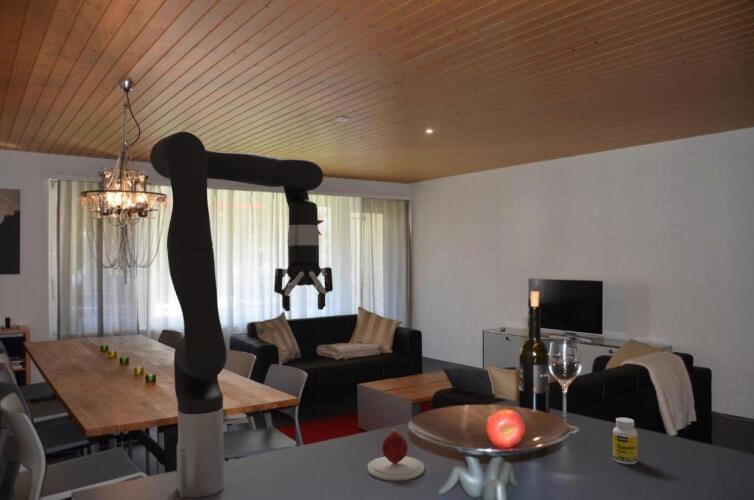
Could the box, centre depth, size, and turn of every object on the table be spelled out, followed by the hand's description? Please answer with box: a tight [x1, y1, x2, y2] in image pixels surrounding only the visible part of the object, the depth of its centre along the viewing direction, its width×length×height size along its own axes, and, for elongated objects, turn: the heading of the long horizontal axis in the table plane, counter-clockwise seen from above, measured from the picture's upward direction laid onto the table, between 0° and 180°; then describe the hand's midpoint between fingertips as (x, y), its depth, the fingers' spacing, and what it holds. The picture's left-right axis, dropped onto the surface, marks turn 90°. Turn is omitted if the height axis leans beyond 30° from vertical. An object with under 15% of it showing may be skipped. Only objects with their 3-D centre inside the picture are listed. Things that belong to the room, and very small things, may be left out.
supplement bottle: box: [612, 417, 639, 465], centre depth 139 cm, size 5×5×10 cm
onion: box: [381, 428, 408, 464], centre depth 135 cm, size 6×6×8 cm
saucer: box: [367, 455, 425, 482], centre depth 135 cm, size 13×13×1 cm
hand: (304, 310), depth 143 cm, fingers open, 8 cm apart
